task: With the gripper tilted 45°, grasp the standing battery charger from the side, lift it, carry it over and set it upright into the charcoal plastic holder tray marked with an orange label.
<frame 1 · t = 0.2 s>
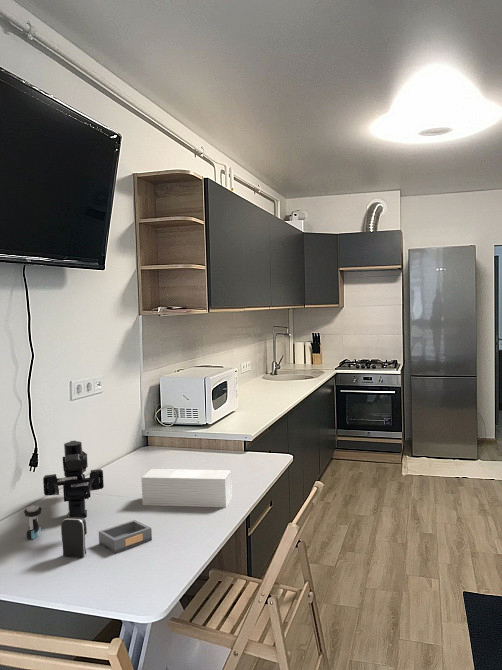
hand: (73, 491, 179), 17 cm above the table, tool horizontal, fingers open, 9 cm apart
stack of papers: (187, 502, 215), on the table
push button: (35, 536, 187), on the table
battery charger: (75, 555, 172), on the table
holder tray: (125, 542, 180), on the table
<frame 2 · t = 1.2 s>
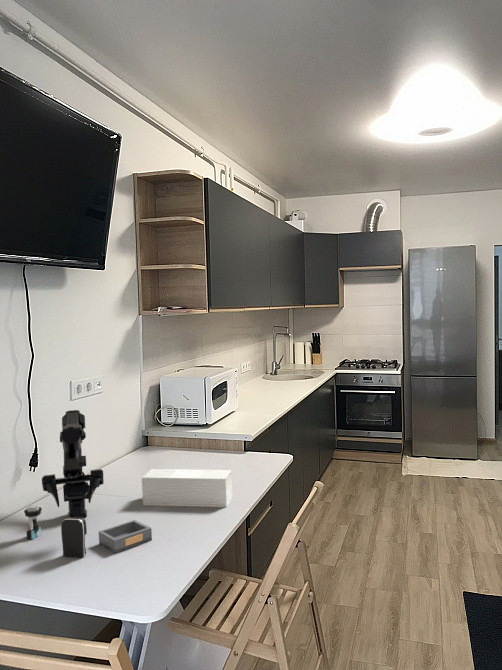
hand: (74, 504, 178), 13 cm above the table, tool tilted 45°, fingers open, 9 cm apart
nothing on the table moved.
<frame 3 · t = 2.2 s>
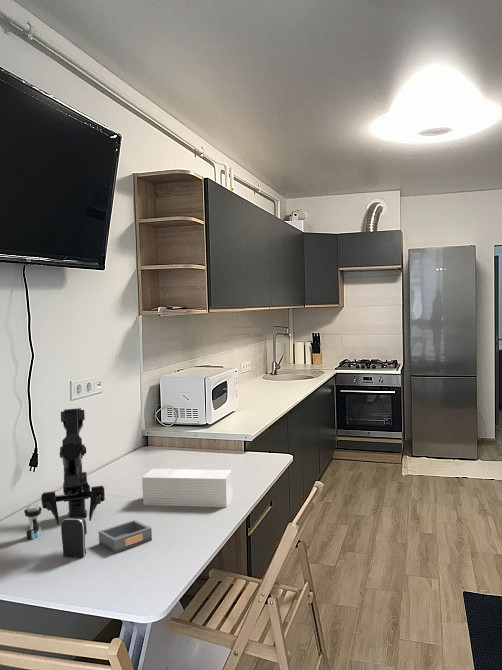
hand: (74, 522, 173), 9 cm above the table, tool tilted 45°, fingers open, 9 cm apart
nothing on the table moved.
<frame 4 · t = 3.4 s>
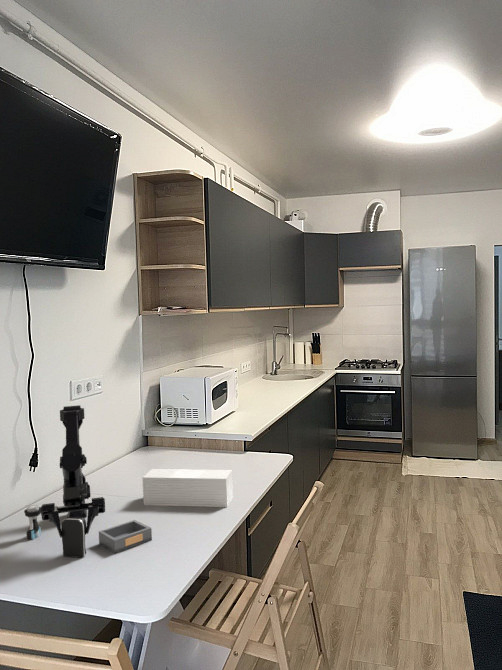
hand: (74, 535, 170), 7 cm above the table, tool tilted 45°, fingers closed on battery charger, 7 cm apart
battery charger: (75, 555, 172), on the table, touching gripper
everything else where it was.
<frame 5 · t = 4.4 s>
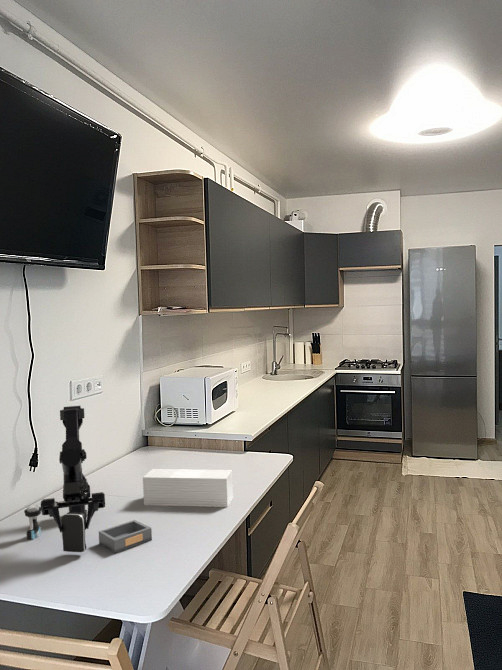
hand: (74, 530, 170), 8 cm above the table, tool tilted 45°, fingers closed on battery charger, 7 cm apart
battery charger: (75, 550, 172), point 1 cm above the table, touching gripper
everything else where it was.
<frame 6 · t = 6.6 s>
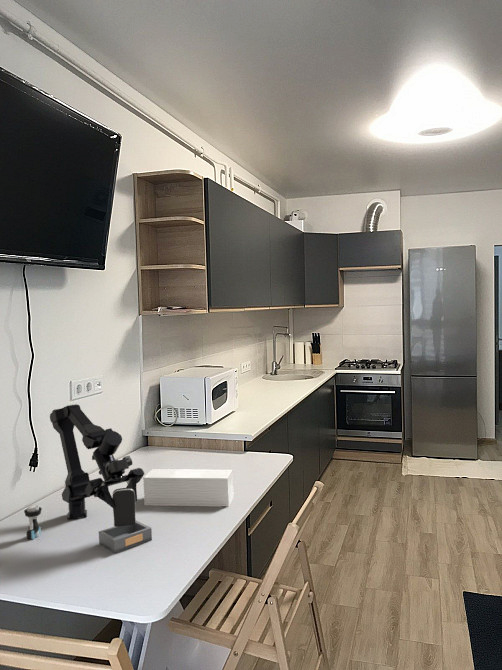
hand: (125, 504, 178), 12 cm above the table, tool tilted 45°, fingers closed on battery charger, 7 cm apart
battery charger: (124, 524, 180), point 6 cm above the table, touching gripper
everything else where it was.
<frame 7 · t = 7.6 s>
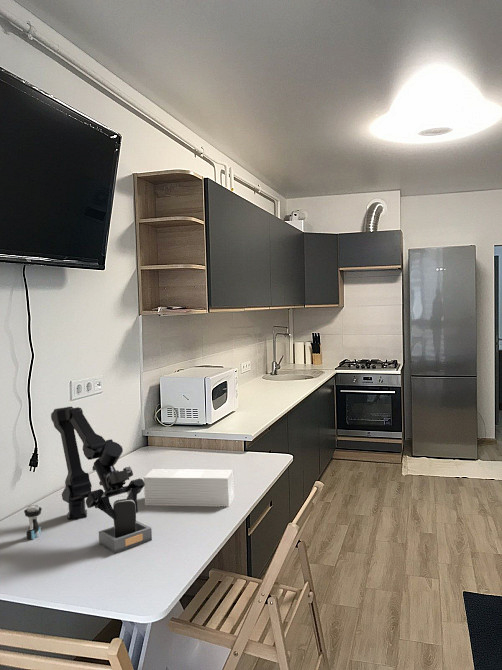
hand: (126, 515, 178), 9 cm above the table, tool tilted 45°, fingers closed on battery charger, 7 cm apart
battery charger: (125, 535, 180), point 2 cm above the table, touching gripper
everything else where it was.
when the fingers open (9 cm above the table, at t = 7.9 s): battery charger stays where it is, resting on holder tray.
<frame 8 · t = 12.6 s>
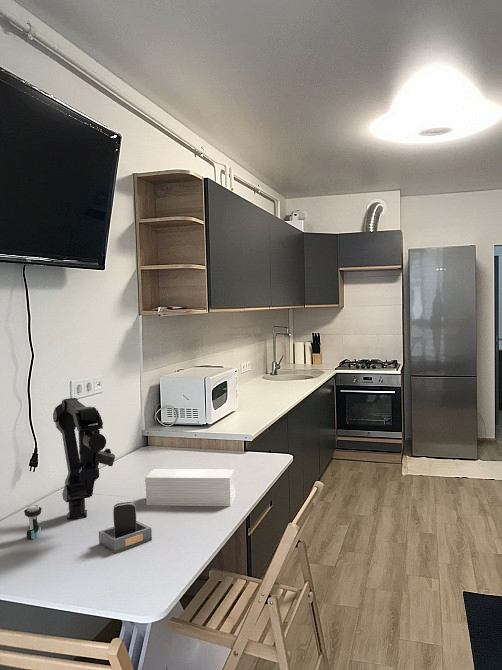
hand: (90, 491, 190), 13 cm above the table, tool pointing down, fingers open, 9 cm apart
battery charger: (125, 539, 180), point 1 cm above the table, touching holder tray
at the end: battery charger 0.3 cm off-centre on the holder tray, point 0.8 cm above the holder tray's base; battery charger tilted 0°; the gripper is holding nothing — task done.
